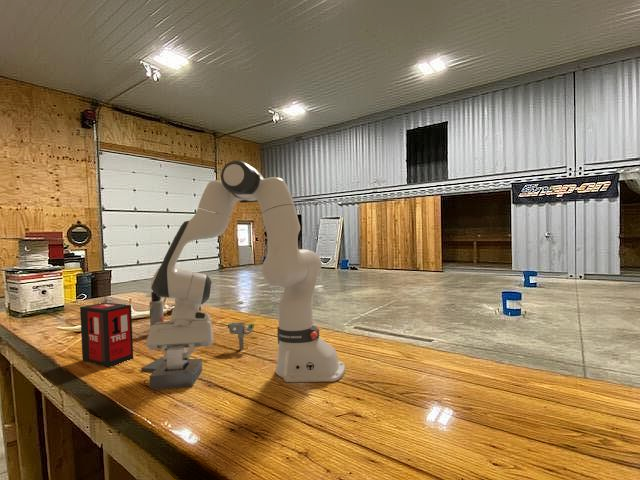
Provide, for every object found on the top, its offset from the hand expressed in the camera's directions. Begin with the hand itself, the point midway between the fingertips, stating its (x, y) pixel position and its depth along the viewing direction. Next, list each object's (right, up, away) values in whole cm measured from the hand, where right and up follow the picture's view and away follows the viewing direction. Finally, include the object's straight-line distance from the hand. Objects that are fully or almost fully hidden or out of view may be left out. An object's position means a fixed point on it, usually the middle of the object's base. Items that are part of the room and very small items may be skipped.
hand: (176, 359), depth 104 cm
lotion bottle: (-31, -7, +53) cm, 62 cm away
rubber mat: (-9, -7, +12) cm, 17 cm away
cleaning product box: (-34, -7, +21) cm, 40 cm away
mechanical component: (+14, -6, +27) cm, 31 cm away
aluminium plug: (0, -6, +1) cm, 6 cm away
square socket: (0, -6, +1) cm, 6 cm away
